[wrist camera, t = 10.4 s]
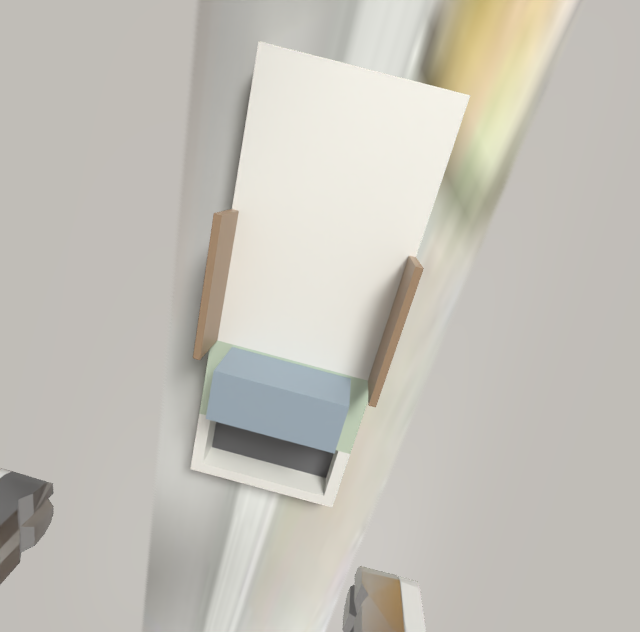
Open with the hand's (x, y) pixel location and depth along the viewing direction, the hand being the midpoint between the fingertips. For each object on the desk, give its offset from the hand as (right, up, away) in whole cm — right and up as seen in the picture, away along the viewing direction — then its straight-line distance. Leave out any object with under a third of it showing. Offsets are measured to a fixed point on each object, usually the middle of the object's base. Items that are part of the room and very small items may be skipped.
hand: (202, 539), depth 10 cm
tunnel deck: (+2, +6, +21) cm, 22 cm away
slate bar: (0, 0, +21) cm, 21 cm away
